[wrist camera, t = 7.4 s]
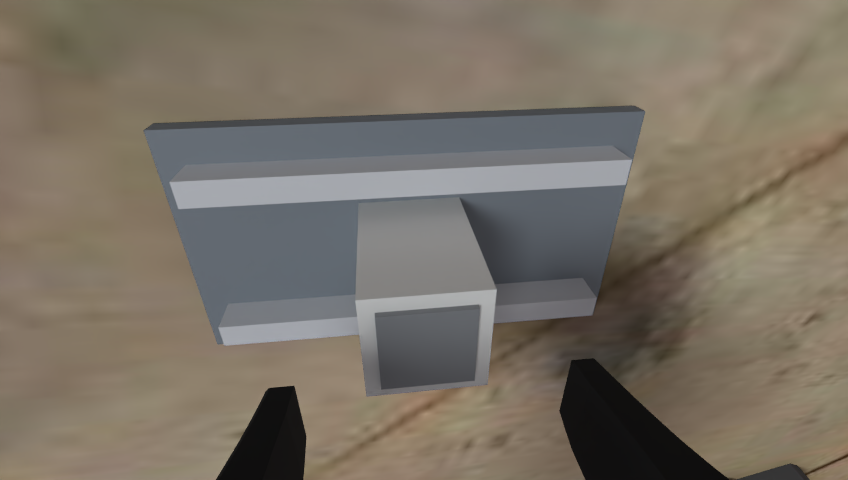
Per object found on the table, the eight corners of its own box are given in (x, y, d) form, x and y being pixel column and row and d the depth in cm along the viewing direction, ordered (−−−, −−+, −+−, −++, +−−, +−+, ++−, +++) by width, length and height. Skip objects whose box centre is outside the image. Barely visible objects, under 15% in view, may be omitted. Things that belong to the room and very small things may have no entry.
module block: (456, 277, 20) (488, 389, 14) (366, 284, 19) (366, 401, 14) (458, 197, 18) (498, 293, 12) (358, 203, 17) (355, 305, 12)
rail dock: (586, 303, 22) (607, 334, 20) (222, 332, 21) (207, 369, 19) (634, 105, 17) (668, 122, 15) (153, 123, 16) (122, 145, 14)
